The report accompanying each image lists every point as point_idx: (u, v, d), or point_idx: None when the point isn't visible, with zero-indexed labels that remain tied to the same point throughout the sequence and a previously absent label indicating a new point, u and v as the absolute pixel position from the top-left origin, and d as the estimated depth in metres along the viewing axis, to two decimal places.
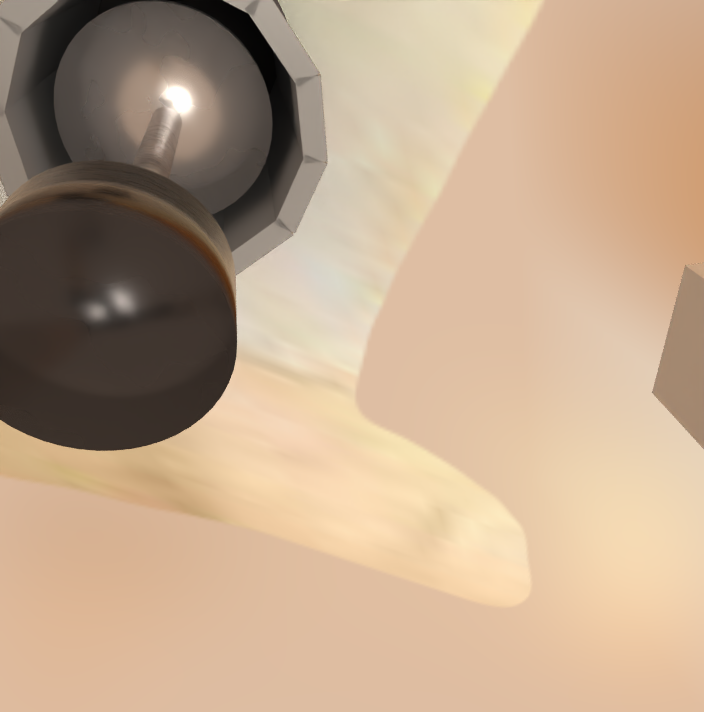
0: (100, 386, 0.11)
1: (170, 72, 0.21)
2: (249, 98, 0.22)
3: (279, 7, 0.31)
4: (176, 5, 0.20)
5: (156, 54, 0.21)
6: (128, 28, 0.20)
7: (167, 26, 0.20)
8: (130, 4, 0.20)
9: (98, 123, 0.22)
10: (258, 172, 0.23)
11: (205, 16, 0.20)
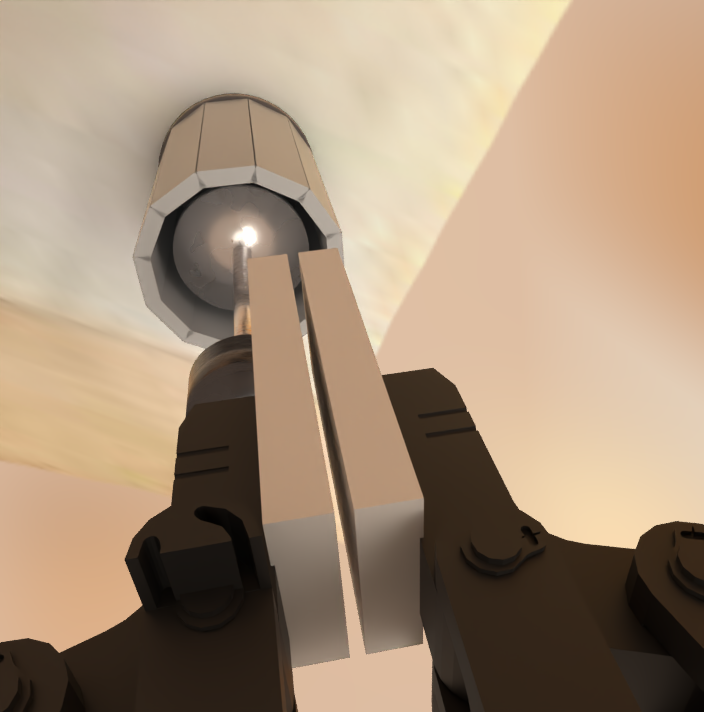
0: None
1: (246, 225, 0.33)
2: (295, 238, 0.34)
3: (306, 142, 0.44)
4: (252, 188, 0.32)
5: (238, 215, 0.33)
6: (222, 202, 0.33)
7: (246, 200, 0.33)
8: (224, 189, 0.32)
9: (199, 255, 0.34)
10: (299, 281, 0.36)
11: (269, 193, 0.33)
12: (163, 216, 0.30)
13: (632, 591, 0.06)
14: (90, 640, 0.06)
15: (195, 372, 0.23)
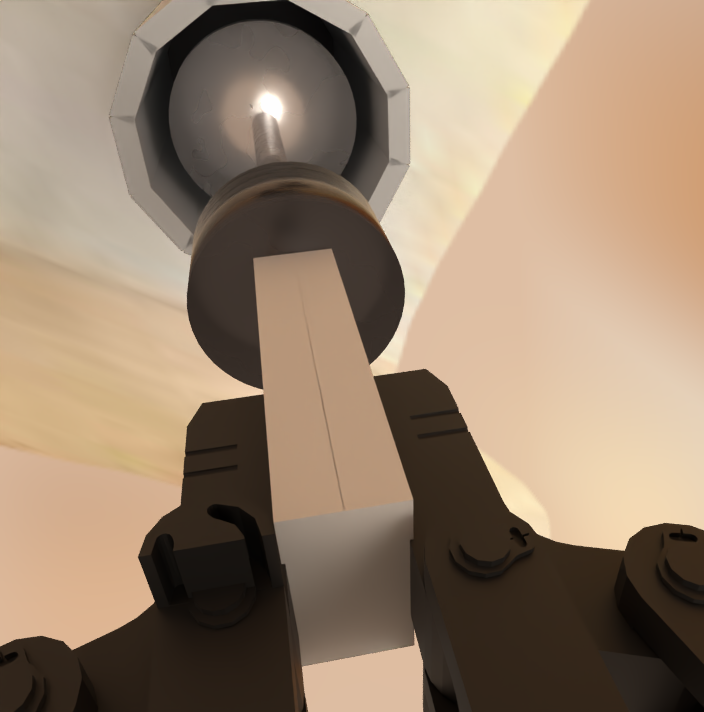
0: None
1: (271, 82, 0.24)
2: (337, 105, 0.25)
3: None
4: (280, 24, 0.23)
5: (260, 67, 0.24)
6: (238, 44, 0.23)
7: (271, 42, 0.23)
8: (241, 23, 0.23)
9: (205, 127, 0.24)
10: (341, 171, 0.26)
11: (304, 34, 0.23)
12: (153, 51, 0.21)
13: (621, 594, 0.06)
14: (102, 637, 0.06)
15: (203, 221, 0.13)
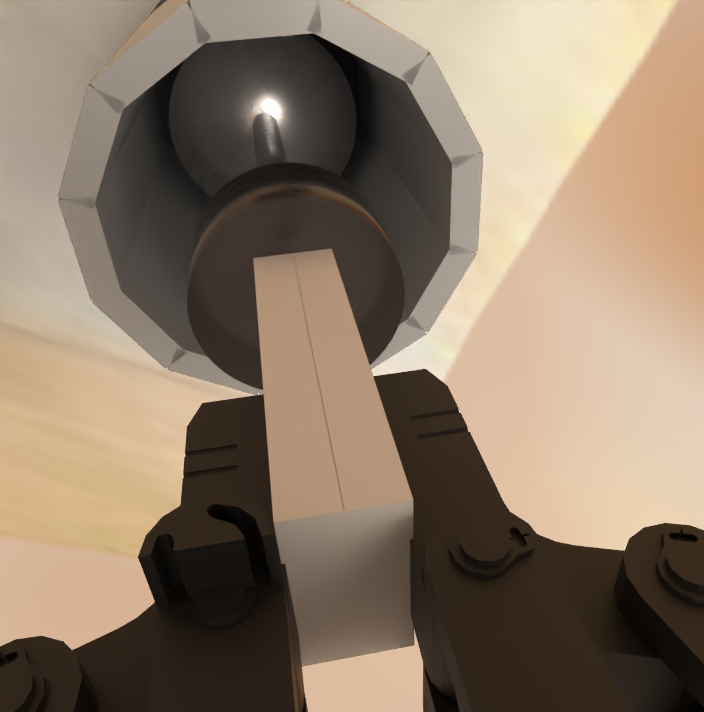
0: None
1: (271, 83, 0.24)
2: (337, 106, 0.25)
3: None
4: None
5: (260, 67, 0.24)
6: (238, 45, 0.23)
7: (271, 43, 0.23)
8: None
9: (205, 128, 0.24)
10: (341, 171, 0.26)
11: (304, 34, 0.23)
12: (119, 108, 0.14)
13: (621, 594, 0.06)
14: (102, 638, 0.06)
15: (204, 222, 0.13)
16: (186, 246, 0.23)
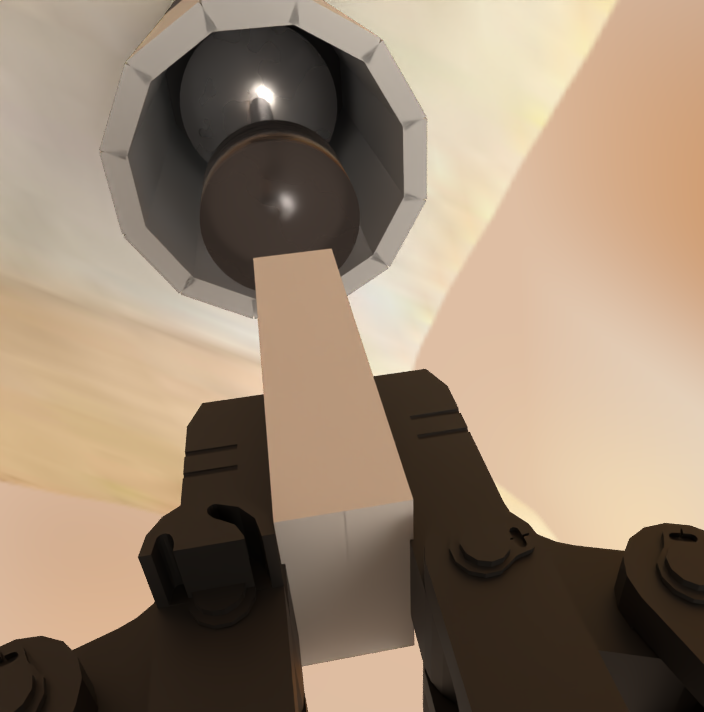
0: (279, 250, 0.18)
1: (265, 72, 0.29)
2: (321, 91, 0.30)
3: None
4: None
5: (256, 58, 0.28)
6: (237, 40, 0.28)
7: (265, 38, 0.28)
8: None
9: (210, 109, 0.29)
10: None
11: (292, 31, 0.28)
12: (147, 81, 0.19)
13: (621, 594, 0.06)
14: (102, 638, 0.06)
15: (211, 162, 0.18)
16: (194, 206, 0.28)
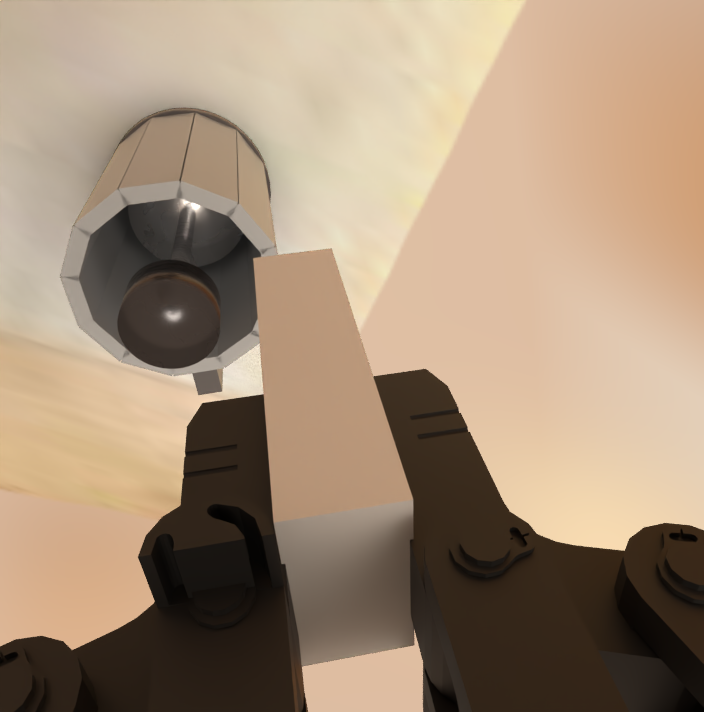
0: (170, 343, 0.29)
1: None
2: None
3: (258, 155, 0.43)
4: None
5: None
6: None
7: None
8: None
9: (151, 217, 0.40)
10: (238, 239, 0.42)
11: None
12: (88, 235, 0.30)
13: (621, 594, 0.06)
14: (102, 638, 0.06)
15: (127, 289, 0.29)
16: None
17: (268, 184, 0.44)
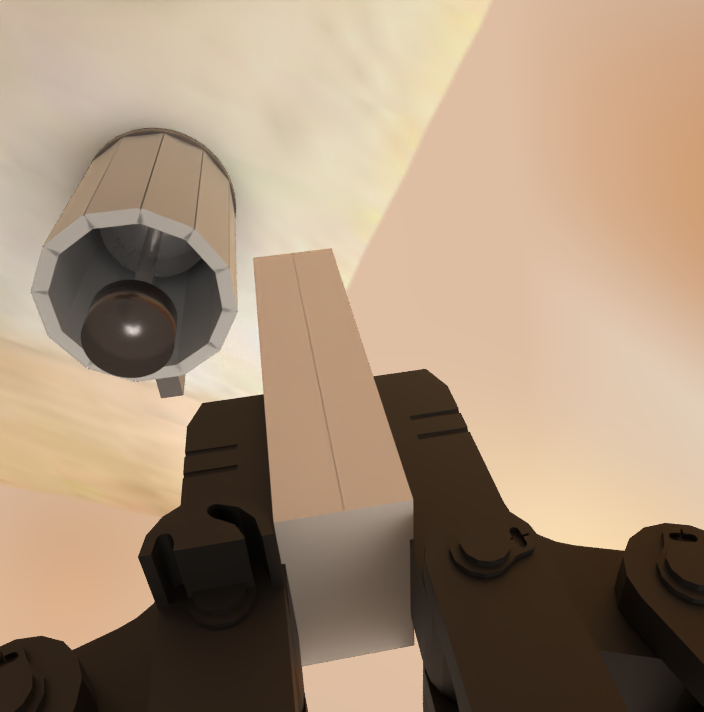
0: (129, 355, 0.32)
1: None
2: None
3: (224, 173, 0.46)
4: None
5: None
6: None
7: None
8: None
9: (121, 231, 0.43)
10: None
11: None
12: (56, 254, 0.33)
13: (621, 594, 0.06)
14: (102, 638, 0.06)
15: (90, 306, 0.32)
16: None
17: (233, 200, 0.47)
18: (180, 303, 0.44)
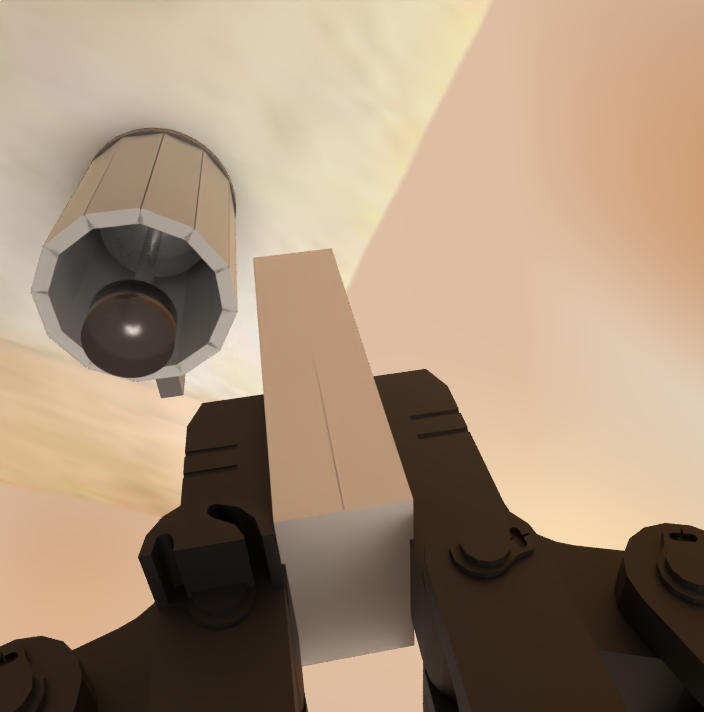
0: (129, 355, 0.32)
1: None
2: None
3: (224, 173, 0.46)
4: None
5: None
6: None
7: None
8: None
9: (121, 231, 0.43)
10: None
11: None
12: (56, 254, 0.33)
13: (621, 593, 0.06)
14: (102, 638, 0.06)
15: (90, 306, 0.32)
16: None
17: (233, 200, 0.47)
18: (180, 303, 0.44)
